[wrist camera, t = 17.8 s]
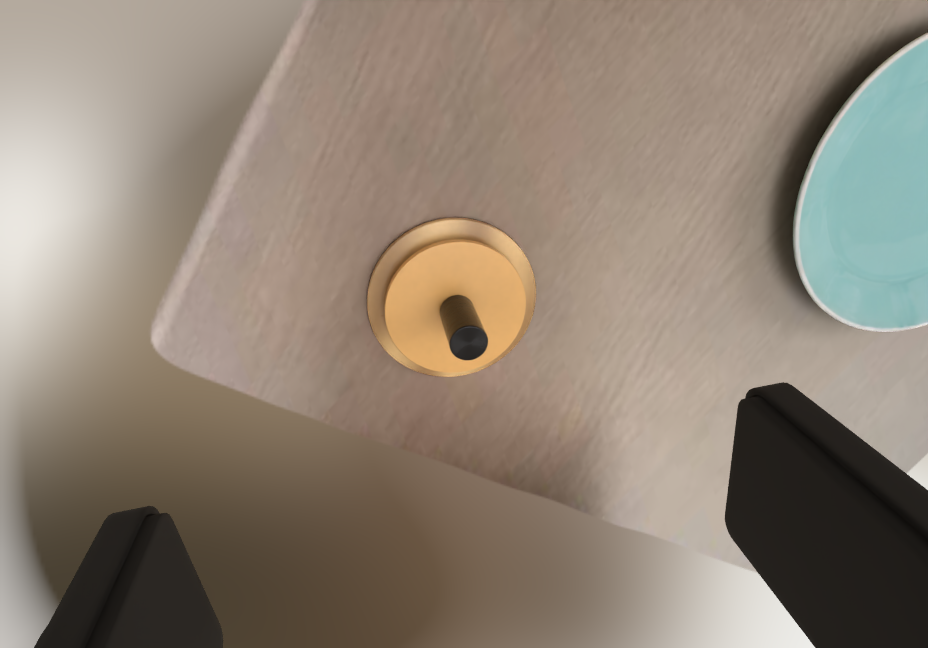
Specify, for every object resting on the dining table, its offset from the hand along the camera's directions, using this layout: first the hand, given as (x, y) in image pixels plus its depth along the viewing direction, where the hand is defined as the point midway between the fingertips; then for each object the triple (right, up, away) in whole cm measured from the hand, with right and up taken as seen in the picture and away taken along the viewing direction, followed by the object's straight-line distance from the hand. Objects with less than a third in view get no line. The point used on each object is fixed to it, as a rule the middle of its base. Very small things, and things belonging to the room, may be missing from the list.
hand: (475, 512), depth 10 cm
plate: (+33, +14, +34) cm, 49 cm away
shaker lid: (-1, +4, +31) cm, 31 cm away
